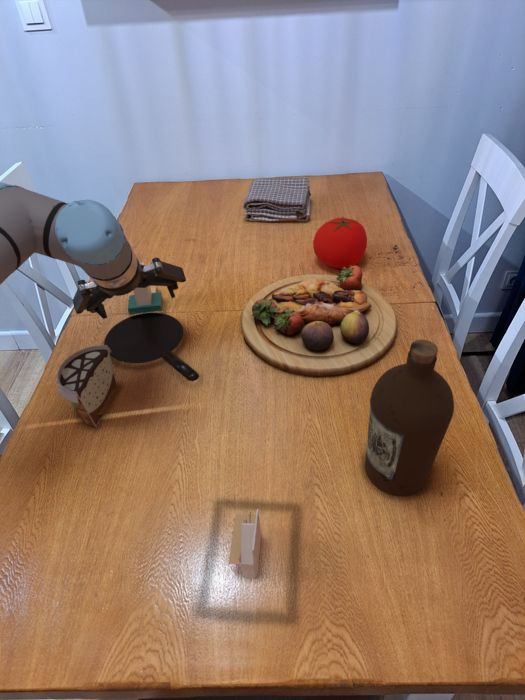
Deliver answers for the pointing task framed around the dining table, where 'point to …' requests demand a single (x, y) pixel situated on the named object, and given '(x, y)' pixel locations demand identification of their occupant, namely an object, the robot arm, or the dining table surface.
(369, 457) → the brown bottle
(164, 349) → the pan
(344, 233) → the tomato
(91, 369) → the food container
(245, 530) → the architectural model
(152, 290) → the tan square block
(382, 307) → the wooden plate
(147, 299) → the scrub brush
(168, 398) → the dining table surface
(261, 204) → the towel
